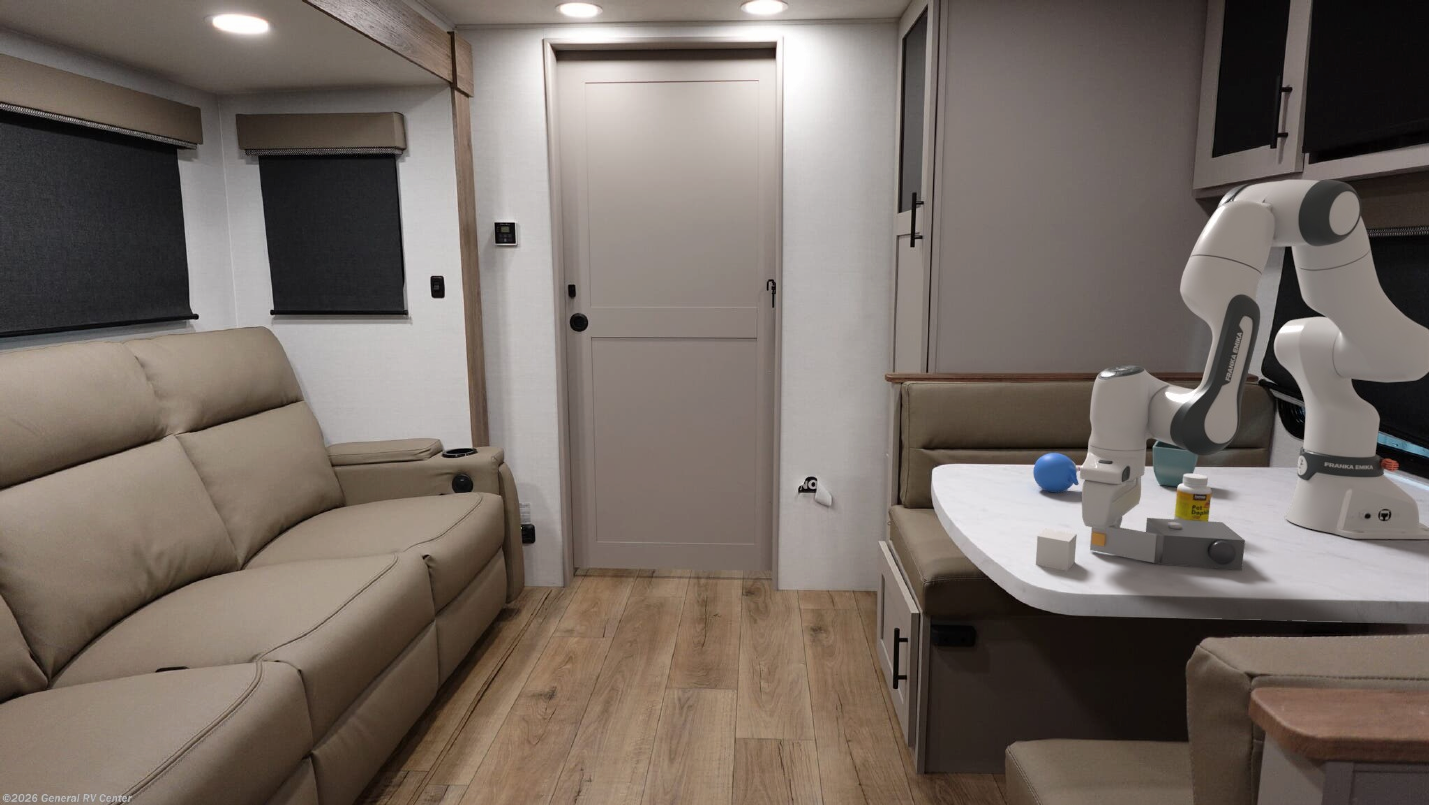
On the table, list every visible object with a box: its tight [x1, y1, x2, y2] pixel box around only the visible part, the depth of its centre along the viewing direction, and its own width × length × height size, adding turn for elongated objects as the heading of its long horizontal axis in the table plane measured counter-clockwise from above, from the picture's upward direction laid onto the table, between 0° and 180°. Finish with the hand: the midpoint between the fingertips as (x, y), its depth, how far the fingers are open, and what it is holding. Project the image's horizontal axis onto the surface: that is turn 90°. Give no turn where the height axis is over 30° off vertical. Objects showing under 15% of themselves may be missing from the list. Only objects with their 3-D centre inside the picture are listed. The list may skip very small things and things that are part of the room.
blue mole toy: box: [1032, 452, 1081, 493], centre depth 187 cm, size 12×12×8 cm
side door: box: [1089, 526, 1162, 564], centre depth 144 cm, size 2×11×5 cm, turn 52°
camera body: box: [1145, 517, 1246, 571], centre depth 144 cm, size 12×12×6 cm
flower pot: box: [1152, 440, 1199, 488], centre depth 193 cm, size 9×9×9 cm
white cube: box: [1035, 528, 1078, 571], centre depth 142 cm, size 5×5×5 cm
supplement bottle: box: [1173, 473, 1212, 521], centre depth 160 cm, size 6×6×10 cm
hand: (1111, 541), depth 148 cm, fingers closed
